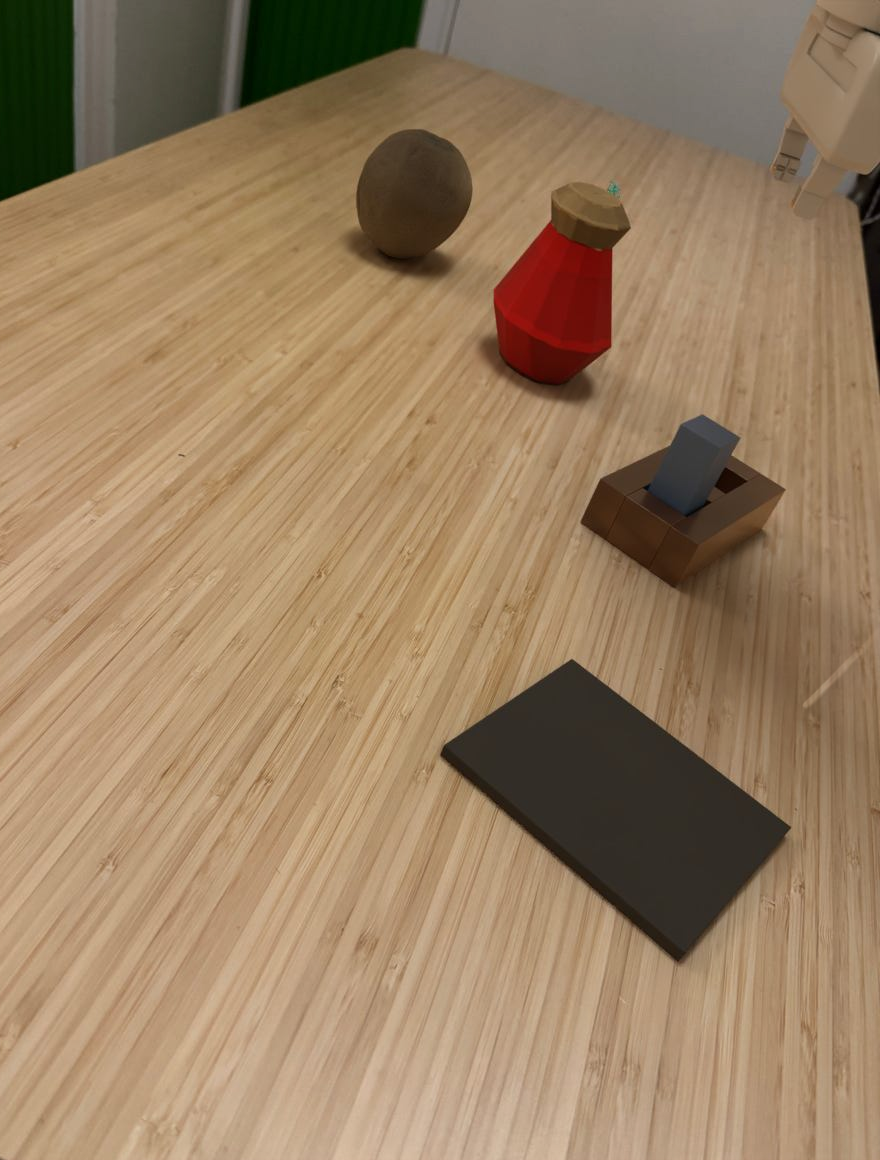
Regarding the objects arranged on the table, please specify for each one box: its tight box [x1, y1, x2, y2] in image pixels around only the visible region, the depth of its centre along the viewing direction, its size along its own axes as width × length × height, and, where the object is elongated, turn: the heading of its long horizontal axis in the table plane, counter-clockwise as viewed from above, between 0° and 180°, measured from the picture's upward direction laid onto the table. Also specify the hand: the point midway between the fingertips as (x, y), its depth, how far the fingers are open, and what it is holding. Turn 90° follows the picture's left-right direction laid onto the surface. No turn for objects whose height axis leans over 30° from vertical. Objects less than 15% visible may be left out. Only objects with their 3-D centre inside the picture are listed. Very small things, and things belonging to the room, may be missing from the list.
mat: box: [439, 658, 792, 962], centre depth 72 cm, size 20×16×1 cm
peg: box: [648, 413, 741, 517], centre depth 96 cm, size 4×4×12 cm
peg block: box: [580, 445, 787, 588], centre depth 101 cm, size 11×19×5 cm, turn 137°
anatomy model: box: [583, 179, 622, 200], centre depth 174 cm, size 5×8×7 cm
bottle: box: [492, 181, 632, 387], centre depth 116 cm, size 16×14×20 cm
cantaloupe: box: [355, 128, 474, 259], centre depth 132 cm, size 14×14×15 cm
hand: (789, 196), depth 82 cm, fingers open, 8 cm apart
